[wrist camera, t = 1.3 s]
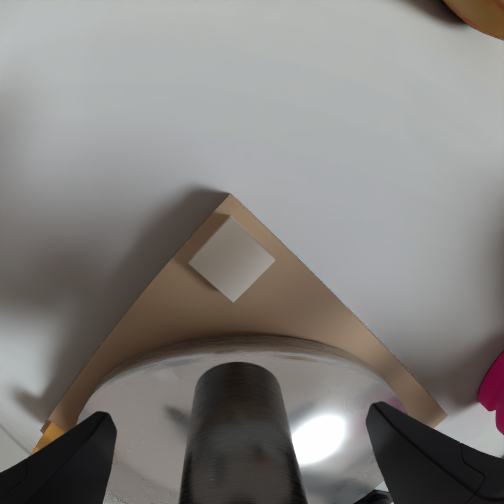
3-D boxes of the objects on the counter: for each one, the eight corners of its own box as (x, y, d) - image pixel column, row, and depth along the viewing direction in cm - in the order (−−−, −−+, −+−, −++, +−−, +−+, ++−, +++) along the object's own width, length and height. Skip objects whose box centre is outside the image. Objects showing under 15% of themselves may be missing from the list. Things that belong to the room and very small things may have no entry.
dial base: (437, 403, 15) (464, 435, 11) (248, 519, 17) (251, 550, 13) (230, 193, 11) (228, 195, 7) (48, 418, 13) (26, 453, 9)
